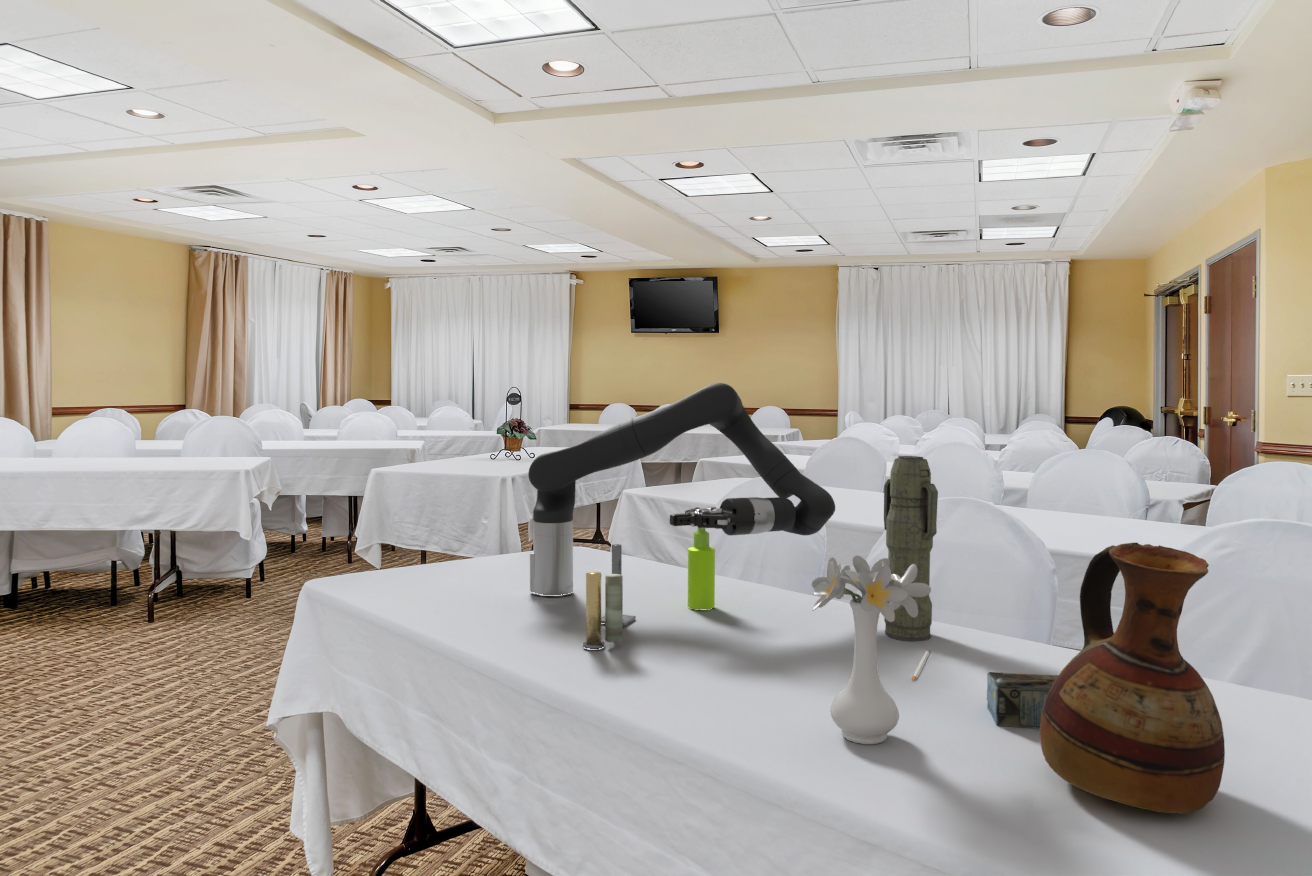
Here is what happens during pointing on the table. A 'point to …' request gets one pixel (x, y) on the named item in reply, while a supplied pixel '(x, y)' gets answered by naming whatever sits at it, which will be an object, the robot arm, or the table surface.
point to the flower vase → (867, 642)
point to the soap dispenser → (701, 572)
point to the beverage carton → (1017, 698)
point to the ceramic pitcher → (1136, 691)
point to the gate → (614, 607)
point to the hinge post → (618, 570)
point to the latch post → (593, 611)
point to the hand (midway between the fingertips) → (671, 520)
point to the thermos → (910, 538)
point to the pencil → (920, 665)
